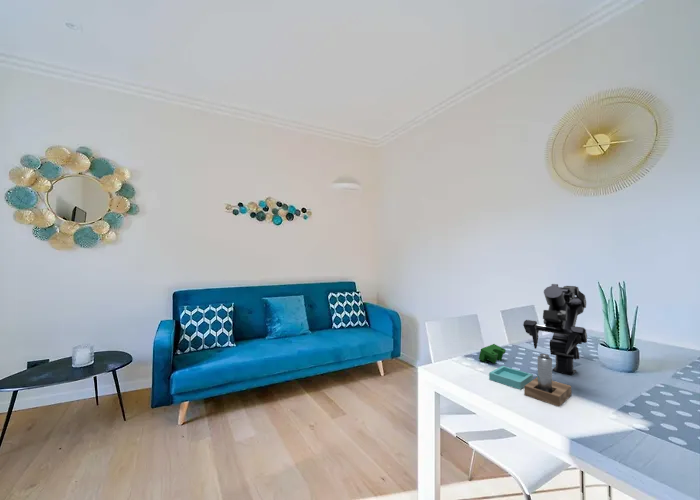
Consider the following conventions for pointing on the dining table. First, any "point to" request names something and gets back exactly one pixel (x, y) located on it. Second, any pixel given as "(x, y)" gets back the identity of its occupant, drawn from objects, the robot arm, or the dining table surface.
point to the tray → (511, 377)
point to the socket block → (556, 397)
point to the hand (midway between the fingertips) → (550, 350)
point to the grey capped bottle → (545, 373)
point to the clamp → (491, 353)
